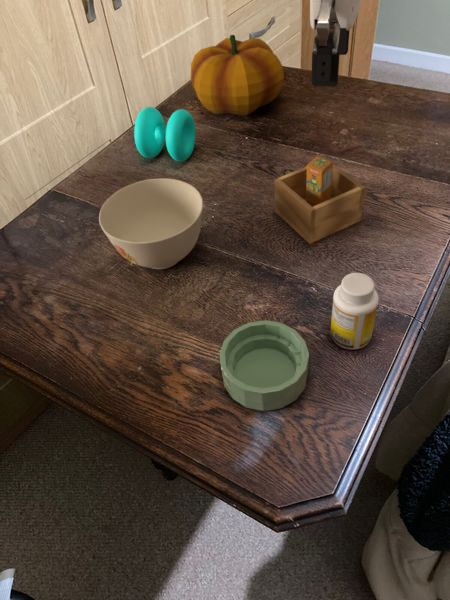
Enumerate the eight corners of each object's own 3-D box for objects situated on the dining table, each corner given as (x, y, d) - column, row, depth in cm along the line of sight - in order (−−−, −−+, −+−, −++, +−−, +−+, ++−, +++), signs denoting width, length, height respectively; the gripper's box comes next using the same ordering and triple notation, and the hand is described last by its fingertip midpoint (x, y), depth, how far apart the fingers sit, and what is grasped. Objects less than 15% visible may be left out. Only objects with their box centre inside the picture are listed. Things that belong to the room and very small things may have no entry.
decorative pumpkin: (176, 109, 117) (164, 43, 106) (242, 76, 126) (237, 11, 115) (234, 136, 107) (228, 65, 96) (301, 98, 116) (303, 29, 105)
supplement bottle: (367, 318, 69) (376, 266, 62) (374, 350, 66) (386, 298, 58) (327, 320, 70) (331, 269, 62) (332, 352, 66) (338, 301, 59)
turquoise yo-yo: (182, 172, 99) (174, 125, 92) (138, 166, 102) (126, 121, 95) (200, 145, 105) (193, 100, 98) (157, 141, 108) (148, 97, 101)
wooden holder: (323, 191, 90) (325, 158, 85) (361, 220, 84) (365, 187, 79) (274, 211, 88) (274, 179, 83) (309, 244, 81) (311, 211, 76)
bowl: (105, 244, 86) (88, 196, 78) (190, 215, 89) (182, 167, 82) (130, 304, 76) (113, 256, 68) (225, 269, 79) (219, 220, 71)
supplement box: (303, 214, 85) (305, 163, 78) (315, 204, 87) (317, 153, 79) (319, 221, 83) (322, 170, 76) (331, 211, 85) (335, 160, 78)
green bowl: (277, 329, 70) (276, 308, 66) (324, 385, 63) (326, 365, 59) (208, 363, 67) (204, 343, 63) (250, 426, 60) (248, 408, 57)
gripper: (366, -80, 46) (351, 100, 58) (382, -114, 57) (366, 43, 69) (287, -75, 48) (288, 98, 60) (317, -109, 59) (313, 43, 71)
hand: (330, 68), depth 65 cm, fingers open, 9 cm apart
